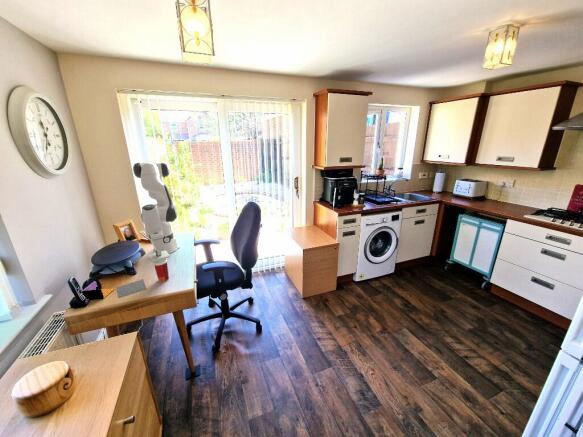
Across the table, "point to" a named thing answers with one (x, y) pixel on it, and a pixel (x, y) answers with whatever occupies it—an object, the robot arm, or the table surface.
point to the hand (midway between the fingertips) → (158, 253)
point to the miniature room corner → (95, 292)
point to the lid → (155, 257)
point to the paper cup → (161, 270)
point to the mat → (131, 288)
